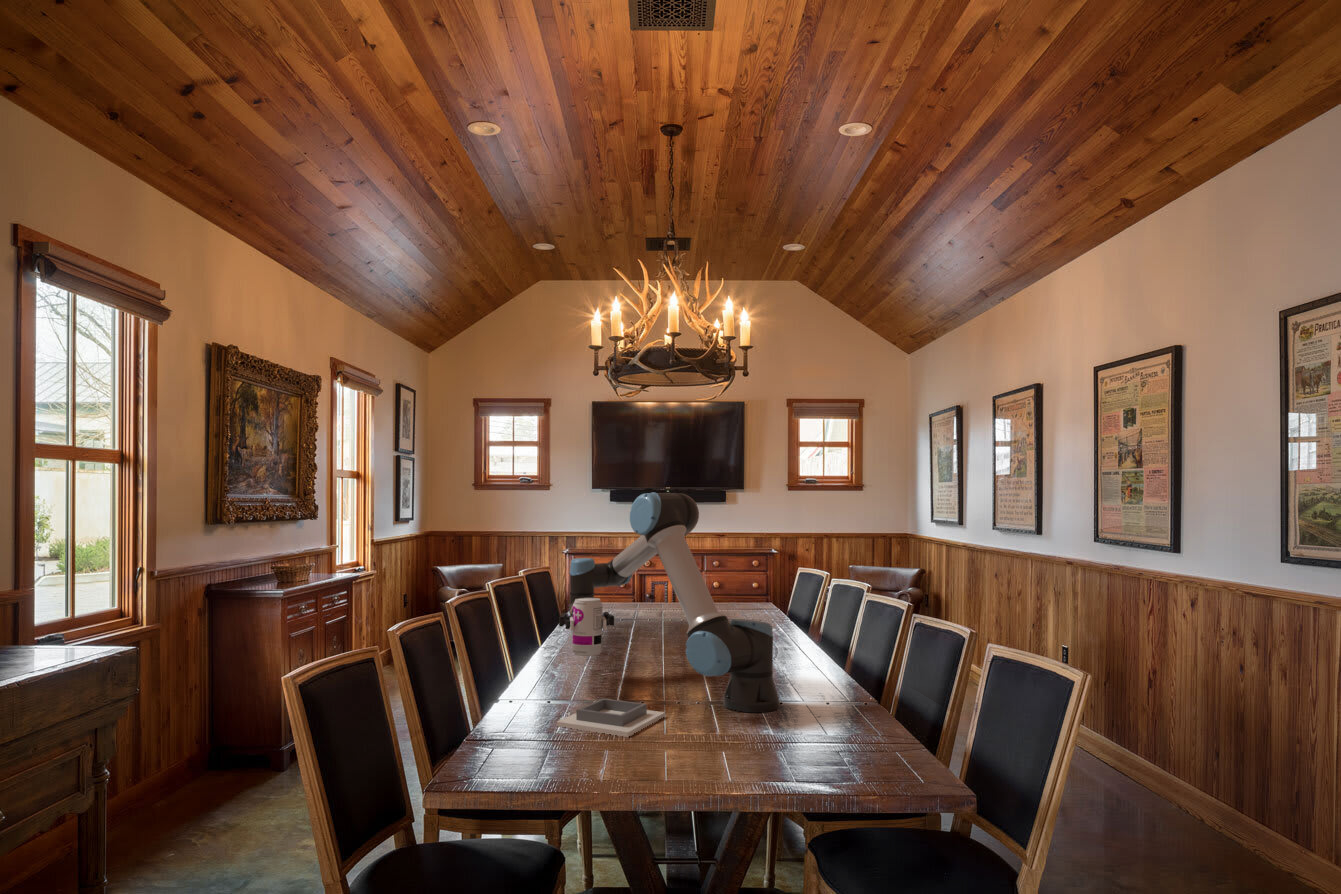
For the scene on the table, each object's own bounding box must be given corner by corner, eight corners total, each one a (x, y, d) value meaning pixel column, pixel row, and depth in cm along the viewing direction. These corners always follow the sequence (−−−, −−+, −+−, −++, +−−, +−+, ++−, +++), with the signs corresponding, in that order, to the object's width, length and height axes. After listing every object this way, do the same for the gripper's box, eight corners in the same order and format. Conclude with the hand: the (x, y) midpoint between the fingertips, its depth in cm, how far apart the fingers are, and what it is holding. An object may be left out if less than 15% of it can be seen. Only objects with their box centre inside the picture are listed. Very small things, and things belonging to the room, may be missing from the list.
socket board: (664, 717, 213) (665, 702, 214) (627, 737, 195) (628, 721, 196) (598, 707, 222) (598, 693, 222) (556, 726, 204) (556, 711, 204)
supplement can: (578, 657, 224) (579, 601, 224) (568, 652, 231) (568, 598, 232) (606, 655, 227) (607, 600, 228) (595, 650, 235) (595, 596, 235)
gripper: (618, 625, 249) (626, 638, 226) (548, 627, 245) (549, 640, 223) (618, 600, 249) (627, 610, 227) (548, 601, 246) (549, 612, 223)
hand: (588, 625), depth 225 cm, fingers closed on supplement can, 8 cm apart
